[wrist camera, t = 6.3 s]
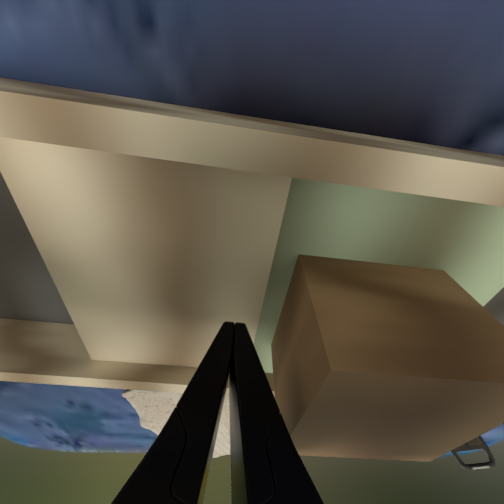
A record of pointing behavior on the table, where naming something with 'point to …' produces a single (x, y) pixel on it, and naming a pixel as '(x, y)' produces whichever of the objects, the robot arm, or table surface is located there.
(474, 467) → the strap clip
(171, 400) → the washcloth
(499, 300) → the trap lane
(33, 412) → the table surface
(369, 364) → the walnut block
